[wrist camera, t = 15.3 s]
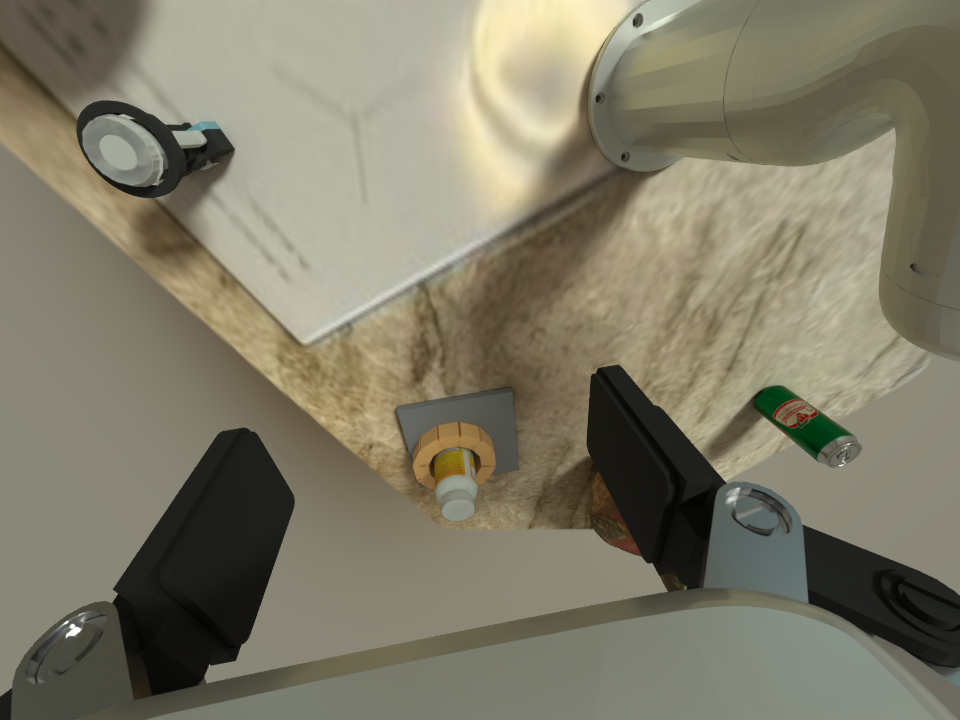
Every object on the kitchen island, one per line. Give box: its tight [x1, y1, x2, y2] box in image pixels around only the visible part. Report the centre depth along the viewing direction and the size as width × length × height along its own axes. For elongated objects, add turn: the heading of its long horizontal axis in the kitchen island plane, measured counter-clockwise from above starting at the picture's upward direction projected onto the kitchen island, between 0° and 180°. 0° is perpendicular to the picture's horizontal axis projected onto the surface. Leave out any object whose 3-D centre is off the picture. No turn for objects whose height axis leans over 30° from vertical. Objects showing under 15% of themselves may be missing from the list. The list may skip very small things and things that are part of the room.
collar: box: [413, 422, 496, 491], centre depth 51 cm, size 11×11×2 cm
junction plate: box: [397, 387, 519, 488], centre depth 51 cm, size 15×15×1 cm
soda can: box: [754, 386, 862, 468], centre depth 51 cm, size 5×5×12 cm
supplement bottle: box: [434, 447, 478, 521], centre depth 48 cm, size 5×5×10 cm
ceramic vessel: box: [590, 472, 685, 592], centre depth 49 cm, size 17×26×25 cm, turn 36°
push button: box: [77, 100, 235, 198], centre depth 27 cm, size 7×5×10 cm
